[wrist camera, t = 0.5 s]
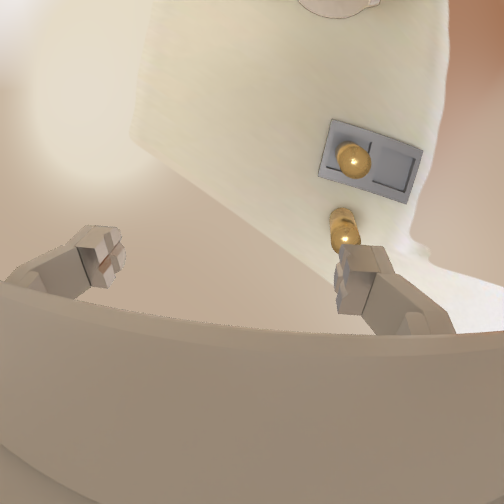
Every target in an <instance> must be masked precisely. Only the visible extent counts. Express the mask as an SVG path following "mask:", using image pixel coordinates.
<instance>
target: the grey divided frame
mask: <svg viewBox="0 0 504 504" xmlns="http://www.w3.org/2000/svg"><path fill="white" fill-rule="evenodd" d="M343 141H352V142H354V143H356V144H357V145H359V146H360V147H361V148H363V149H364V150H366V151H367V153H368V154H369V155H370V158H371V169H370V171H369V173H368V174H367V175H366V176H364V177H363V178H360V179H352V178H349V177H347V176H346V175H345V174H343V172H342V171H341V169H340V167H339V164H338V162H337V160H336V157H335V150H336V147H337V146H338V145H339V144H340V143H341V142H343ZM422 154H423V150H420V149H418V148H415V147H413V146H410V145H408V144H405V143H402V142H400V141H397V140H394V139H392V138H389V137H386V136H383V135H381V134H378V133H375V132H372V131H369V130H366V129H363V128H360V127H356V126H353V125H350V124H347V123H343V122H340V121H336V120H333V119H332V120H331V124H330V128H329V132H328V136H327V140H326V144H325V148H324V152H323V156H322V160H321V164H320V168H319V172H318V177H321V178H325V179H329V180H332V181H335V182H339V183H342V184H346V185H349V186H352V187H355V188H359V189H362V190H365V191H368V192H371V193H374V194H377V195H380V196H383V197H386V198H389V199H392V200H395V201H398V202H401V203H404V204H407V201H408V198H409V195H410V192H411V189H412V186H413V183H414V180H415V177H416V174H417V171H418V167H419V164H420V161H421V157H422Z"/></svg>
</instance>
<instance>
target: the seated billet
mask: <svg viewBox="0 0 504 504" xmlns="http://www.w3.org/2000/svg"><path fill="white" fill-rule="evenodd" d="M335 157H336V160H337V162H338V164H339V167H340V169H341V171H342V172H343V174H345V175H346V176H347V177H349V178H352V179H360V178H363V177H364V176H366V175H367V174H368V173H369V171H370V169H371V158H370V155H369V154H368V153H367V151H366V150H364V149H363V148H361V147H360V146H359V145H357V144H356V143H354V142H352V141H343V142H341V143H340V144H339V145H338V146H337V147H336V150H335Z"/></svg>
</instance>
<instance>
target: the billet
mask: <svg viewBox="0 0 504 504" xmlns="http://www.w3.org/2000/svg"><path fill="white" fill-rule="evenodd" d="M330 232H331V245H332V248H333V250H334V251H335V252H336V253H338V254H339V250H340V247H341V244H353V245H360V244H361V239H360V235H359V232H358V229H357V225H356V222H355V219H354V216H353V214H352V212H351V211H350V210H349V209H347V208H337V209H335V210H334V211H333V212H332V213H331V215H330Z"/></svg>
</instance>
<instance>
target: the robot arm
mask: <svg viewBox="0 0 504 504" xmlns="http://www.w3.org/2000/svg"><path fill="white" fill-rule="evenodd" d="M298 1H299V2H300V4H301V5H303V6H304V7H305V8H306V9H308V10H309V11H311V12H313V13H315V14H317V15H320V16H324V17H328V18H346V17H350V16H353V15H355V14H357V13H359V12H360V11H362V10H363V9H365V8H367V7H372V6H376V5H378V4H379V3H380V0H298ZM121 238H122V236H121V232H120V230H119V229H118V228H117V227H108V226H96V225H87V226H84V227H83V228H82V229H81V230H80V231H79V232H78V233H77V234H76V235H75V236H74V237H73V238H72V239H70V241H69V242H67V243H66V244H65V246H59V247H57V248H55V249H54V250H51V251H49V252H47V253H45V254H43V255H41V256H39V257H37V258H34V259H32V260H31V261H28V262H26V263H25V264H22V265H21V266H19V267H17V268H16V269H15V270H14V271H13V272H12V273H11V275H10V276H9V277H8V278H7V279H6V280H5V281H1V280H0V504H504V331H493V332H480V333H464V334H456V332H455V329H454V327H453V324H452V322H451V320H450V318H449V315H448V313H447V311H445V310H444V309H443V308H442V307H440V306H439V305H438V304H437V303H435V302H434V301H433V300H432V299H430V298H429V297H428V296H427V295H425V294H424V293H423V292H422V291H420V290H419V289H418V288H416V287H415V286H414V285H413V284H411V283H410V282H409V281H407V280H406V279H405V278H403V277H402V276H401V275H399V274H395V272H394V269H393V267H392V264H391V262H390V260H389V258H388V255H387V253H386V251H385V248H384V247H383V246H369V245H353V244H341V247H340V250H339V259H340V262H339V263H338V264H337V265H336V269H335V275H334V288H335V292H336V293H337V298H336V304H337V311H338V314H347V315H361V316H362V318H363V319H364V320H365V322H366V323H367V324H368V325H369V326H370V328H371V329H372V330H373V331H374V333H375V334H376V335H352V334H327V333H310V332H295V331H280V330H269V329H259V328H248V327H239V326H230V325H221V324H213V323H205V322H197V321H190V320H183V319H176V318H170V317H163V316H156V315H151V314H144V313H139V312H134V311H128V310H123V309H117V308H112V307H107V306H102V305H97V304H92V303H87V302H83V301H78V300H74V299H75V298H77V297H78V296H79V295H81V294H82V293H84V292H85V291H86V290H88V289H89V288H91V286H93V287H99V288H107V289H108V288H109V287H110V285H111V283H112V282H113V281H114V279H115V278H116V276H115V273H117V272H119V271H120V270H121V269H122V268H123V266H124V264H125V260H126V252H125V248H124V246H123V245H122V244H121V243H120V240H121Z"/></svg>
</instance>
